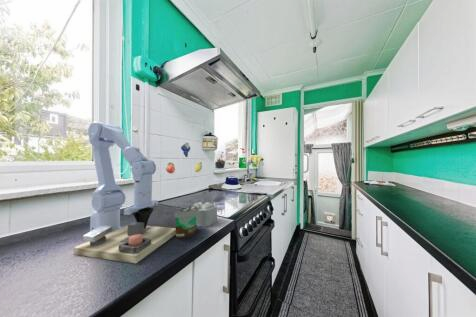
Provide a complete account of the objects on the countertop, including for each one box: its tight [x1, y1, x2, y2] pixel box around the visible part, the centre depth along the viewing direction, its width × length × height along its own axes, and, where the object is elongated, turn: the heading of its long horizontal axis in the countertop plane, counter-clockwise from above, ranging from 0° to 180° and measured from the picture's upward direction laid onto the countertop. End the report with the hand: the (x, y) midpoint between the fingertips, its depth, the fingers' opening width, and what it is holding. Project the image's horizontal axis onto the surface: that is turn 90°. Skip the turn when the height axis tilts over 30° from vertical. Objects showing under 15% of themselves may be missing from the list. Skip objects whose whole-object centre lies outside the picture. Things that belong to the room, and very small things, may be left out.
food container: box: [173, 204, 199, 239], centre depth 65 cm, size 12×6×10 cm, turn 168°
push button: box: [128, 234, 143, 247], centre depth 50 cm, size 4×4×3 cm
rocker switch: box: [82, 225, 113, 242], centre depth 53 cm, size 4×6×2 cm, turn 168°
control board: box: [72, 224, 176, 264], centre depth 57 cm, size 22×20×4 cm
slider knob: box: [127, 221, 144, 236], centre depth 59 cm, size 4×3×4 cm
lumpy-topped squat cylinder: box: [193, 201, 218, 228], centre depth 79 cm, size 10×13×9 cm
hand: (142, 228), depth 62 cm, fingers closed
